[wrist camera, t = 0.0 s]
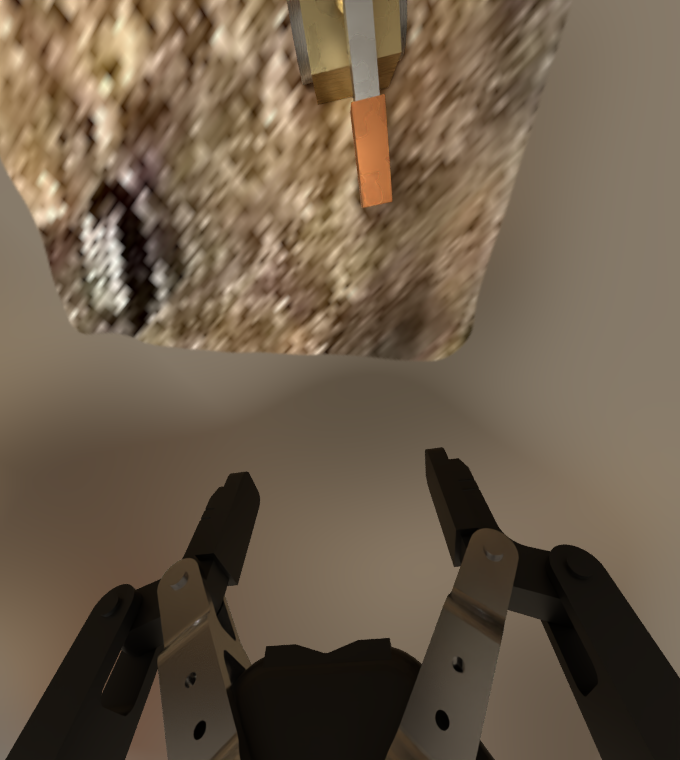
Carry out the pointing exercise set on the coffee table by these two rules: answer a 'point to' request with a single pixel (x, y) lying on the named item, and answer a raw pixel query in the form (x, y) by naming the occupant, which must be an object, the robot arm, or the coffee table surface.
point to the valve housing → (343, 44)
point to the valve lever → (367, 105)
